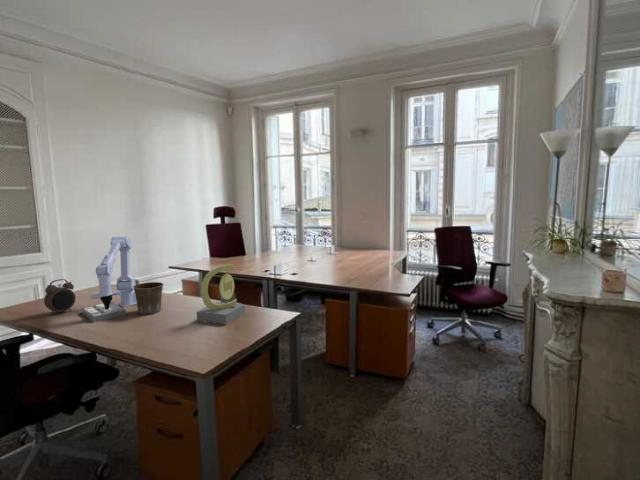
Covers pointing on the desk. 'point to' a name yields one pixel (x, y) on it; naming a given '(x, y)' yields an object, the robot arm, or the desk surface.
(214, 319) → the trophy
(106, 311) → the button
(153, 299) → the plant pot
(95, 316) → the button panel
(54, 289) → the alarm clock
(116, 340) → the desk surface
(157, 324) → the desk surface
